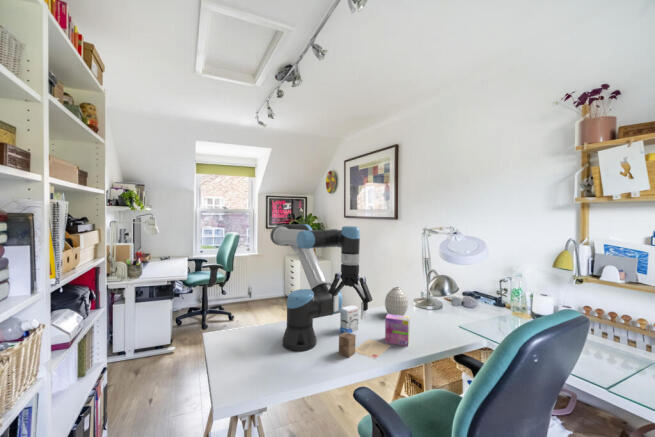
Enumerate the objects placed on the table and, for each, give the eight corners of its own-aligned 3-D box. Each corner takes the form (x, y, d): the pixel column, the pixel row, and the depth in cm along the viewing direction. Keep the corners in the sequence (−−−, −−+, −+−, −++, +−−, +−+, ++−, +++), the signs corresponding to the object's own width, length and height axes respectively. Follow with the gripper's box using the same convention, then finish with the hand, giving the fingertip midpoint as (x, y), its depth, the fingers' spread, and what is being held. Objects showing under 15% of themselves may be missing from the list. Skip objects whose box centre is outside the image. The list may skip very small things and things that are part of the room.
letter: (352, 351, 128) (352, 350, 128) (369, 339, 140) (369, 338, 140) (375, 359, 122) (375, 358, 122) (391, 346, 134) (391, 345, 134)
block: (338, 354, 125) (339, 335, 125) (345, 350, 129) (345, 331, 129) (348, 358, 122) (349, 339, 122) (355, 353, 126) (355, 335, 126)
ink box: (346, 334, 145) (347, 310, 145) (339, 331, 149) (340, 308, 148) (358, 330, 151) (359, 307, 150) (351, 327, 154) (352, 304, 154)
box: (384, 342, 137) (385, 317, 137) (386, 337, 142) (387, 313, 142) (408, 346, 134) (408, 320, 133) (409, 341, 139) (410, 316, 138)
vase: (383, 311, 178) (384, 284, 178) (406, 313, 177) (406, 285, 176) (385, 319, 166) (385, 289, 165) (408, 321, 164) (409, 291, 163)
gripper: (320, 261, 129) (320, 310, 130) (372, 268, 114) (371, 324, 115) (331, 259, 135) (330, 305, 136) (381, 266, 120) (380, 318, 121)
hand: (349, 314), depth 125 cm, fingers open, 13 cm apart
